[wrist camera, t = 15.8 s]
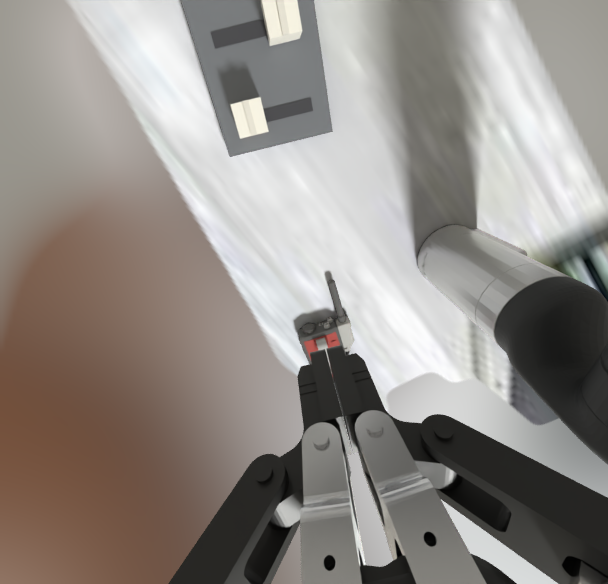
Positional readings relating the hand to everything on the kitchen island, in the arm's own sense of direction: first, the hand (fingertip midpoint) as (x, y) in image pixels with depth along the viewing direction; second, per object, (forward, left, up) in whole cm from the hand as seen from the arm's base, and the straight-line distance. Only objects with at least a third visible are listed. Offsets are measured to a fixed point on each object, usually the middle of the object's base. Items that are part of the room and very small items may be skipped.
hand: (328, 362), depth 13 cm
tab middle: (-3, -18, -26) cm, 32 cm away
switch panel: (-1, -18, -29) cm, 34 cm away
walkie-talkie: (-1, +21, -30) cm, 37 cm away
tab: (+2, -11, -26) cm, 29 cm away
